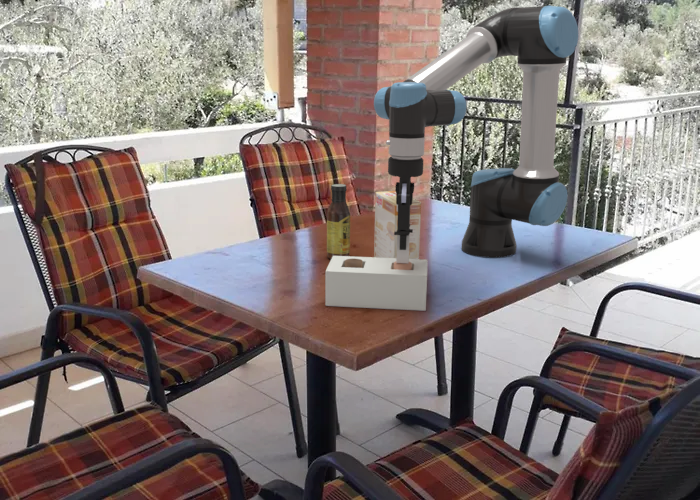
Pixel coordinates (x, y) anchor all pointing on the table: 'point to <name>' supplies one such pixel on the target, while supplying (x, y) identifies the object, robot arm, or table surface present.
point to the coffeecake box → (394, 226)
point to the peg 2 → (403, 266)
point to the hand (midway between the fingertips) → (402, 262)
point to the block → (376, 284)
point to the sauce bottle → (338, 223)
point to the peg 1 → (354, 263)
